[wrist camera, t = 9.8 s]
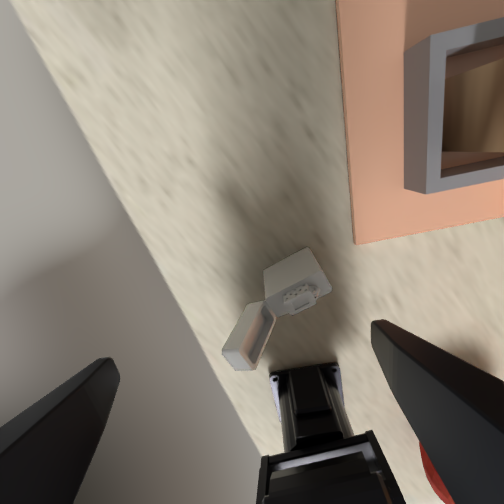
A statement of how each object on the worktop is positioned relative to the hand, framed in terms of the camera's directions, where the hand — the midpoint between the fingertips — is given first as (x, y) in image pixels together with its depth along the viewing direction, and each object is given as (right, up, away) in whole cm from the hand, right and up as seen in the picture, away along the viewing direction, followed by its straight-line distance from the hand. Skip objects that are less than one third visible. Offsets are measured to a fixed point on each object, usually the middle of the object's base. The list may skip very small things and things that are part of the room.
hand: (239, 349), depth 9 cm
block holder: (+14, +12, +8) cm, 20 cm away
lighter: (+2, +1, +12) cm, 13 cm away
